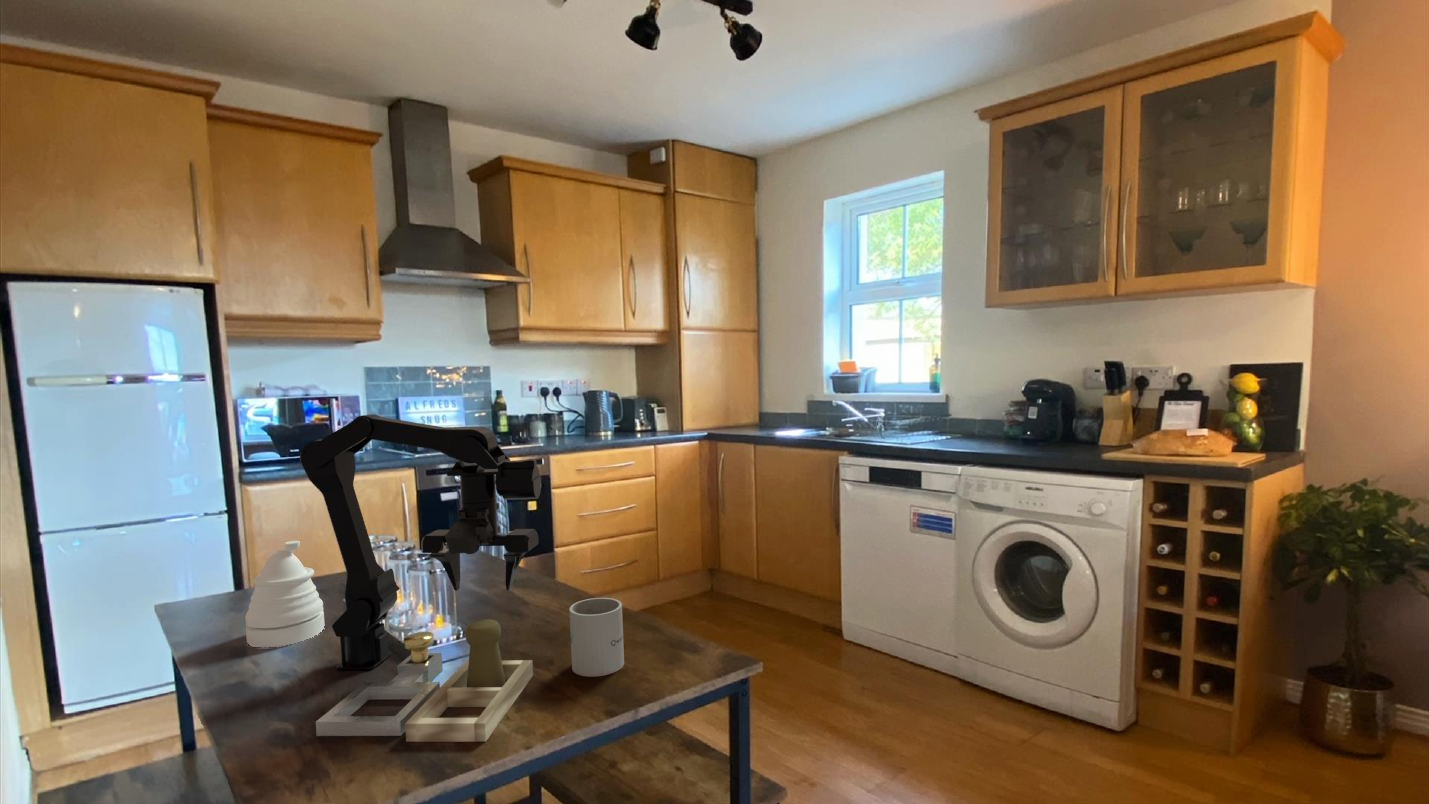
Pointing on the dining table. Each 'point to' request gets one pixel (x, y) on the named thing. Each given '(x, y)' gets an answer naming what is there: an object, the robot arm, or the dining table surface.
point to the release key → (419, 646)
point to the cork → (484, 654)
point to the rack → (456, 694)
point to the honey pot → (284, 602)
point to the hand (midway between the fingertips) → (482, 589)
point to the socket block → (406, 685)
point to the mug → (596, 636)
